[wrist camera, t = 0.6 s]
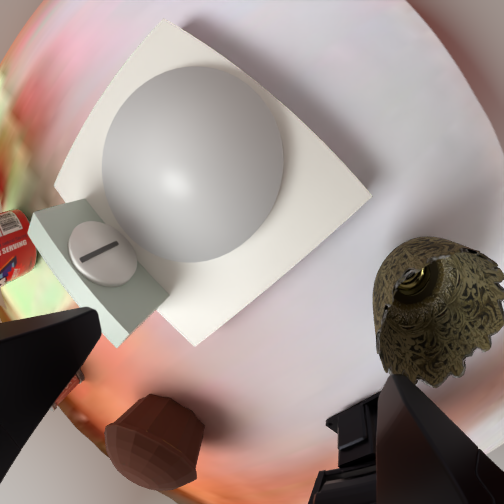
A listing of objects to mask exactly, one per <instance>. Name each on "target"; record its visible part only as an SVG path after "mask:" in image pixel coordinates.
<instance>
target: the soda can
mask: <svg viewBox="0 0 504 504" xmlns="http://www.w3.org/2000/svg"><path fill="white" fill-rule="evenodd" d="M29 226H30V222H29V220H28V218H27V217H26V215H25V214H24V213H23V212H22V211H20V210H18V209H13V210H9V211H6V212H3V213H0V287H2V286H4V285H6V284H7V283H9V282H11V281H13V280H15V279H17V278H19V277H21V276H23V275H25V274H26V273H28V272H30V271H31V270H32V269H33V268H34V266H35V263H36V257H37V248H36V247H35V245H34V244H33V242H32V240H31V239H30V237H29V236H28V234H27V233H28V229H29Z"/></svg>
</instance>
